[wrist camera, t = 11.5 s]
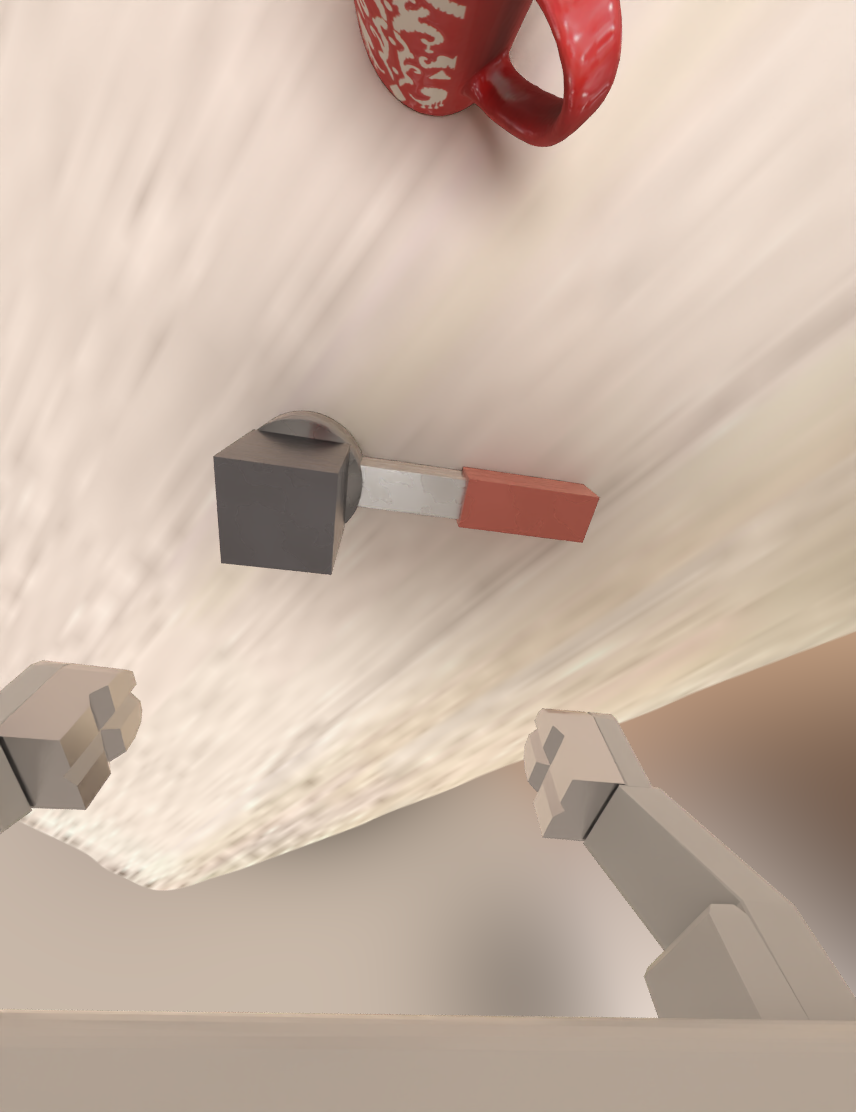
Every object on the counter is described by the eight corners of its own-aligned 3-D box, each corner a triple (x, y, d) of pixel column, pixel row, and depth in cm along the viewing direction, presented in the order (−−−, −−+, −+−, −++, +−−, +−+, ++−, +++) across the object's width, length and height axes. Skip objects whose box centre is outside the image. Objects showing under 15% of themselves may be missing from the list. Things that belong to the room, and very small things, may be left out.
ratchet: (593, 455, 29) (649, 491, 23) (559, 550, 33) (600, 605, 26) (249, 401, 26) (199, 424, 20) (252, 512, 30) (211, 563, 23)
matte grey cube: (350, 443, 25) (337, 473, 20) (344, 528, 27) (331, 574, 22) (253, 429, 24) (213, 456, 19) (256, 517, 27) (221, 562, 21)
